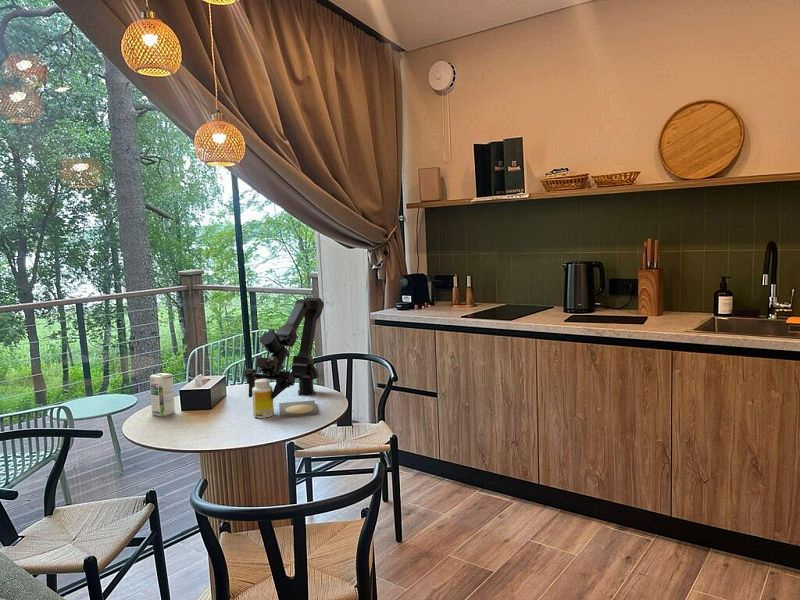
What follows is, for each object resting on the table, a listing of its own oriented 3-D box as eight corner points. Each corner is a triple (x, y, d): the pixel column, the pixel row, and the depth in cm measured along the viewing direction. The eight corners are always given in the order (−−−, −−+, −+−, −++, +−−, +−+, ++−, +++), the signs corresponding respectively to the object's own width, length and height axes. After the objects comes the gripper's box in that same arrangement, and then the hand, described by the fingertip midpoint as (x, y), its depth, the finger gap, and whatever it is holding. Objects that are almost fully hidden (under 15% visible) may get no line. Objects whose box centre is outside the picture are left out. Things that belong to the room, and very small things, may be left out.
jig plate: (279, 406, 217) (279, 402, 216) (314, 403, 219) (314, 399, 219) (279, 418, 202) (279, 414, 201) (317, 415, 204) (317, 411, 204)
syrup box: (151, 415, 210) (148, 375, 208) (164, 410, 215) (162, 372, 213) (162, 417, 207) (159, 377, 205) (175, 412, 212) (173, 373, 211)
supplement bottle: (277, 416, 205) (275, 380, 203) (259, 420, 200) (257, 383, 199) (268, 411, 210) (266, 376, 209) (250, 415, 206) (248, 380, 204)
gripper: (244, 346, 210) (227, 384, 200) (289, 348, 203) (274, 387, 194) (257, 363, 218) (241, 400, 209) (301, 366, 212) (287, 404, 202)
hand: (260, 397), depth 203 cm, fingers open, 9 cm apart
